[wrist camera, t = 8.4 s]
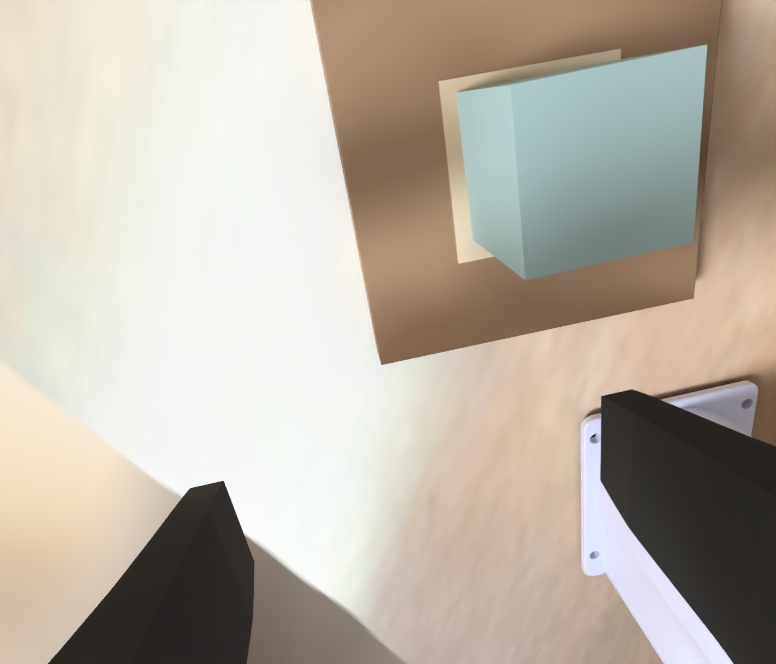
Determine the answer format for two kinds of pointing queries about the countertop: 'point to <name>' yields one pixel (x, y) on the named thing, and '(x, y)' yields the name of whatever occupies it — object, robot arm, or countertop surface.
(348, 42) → the plate
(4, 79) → the countertop surface
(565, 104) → the teal cube
